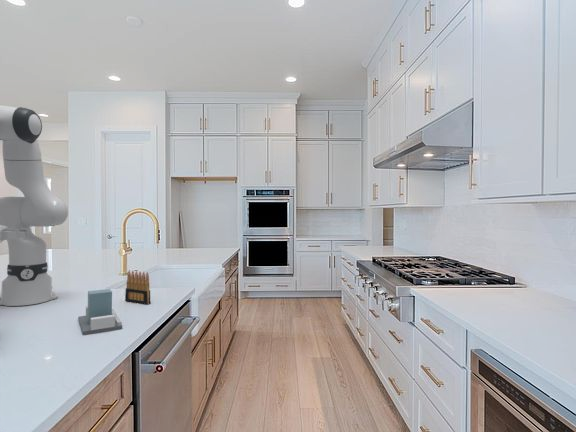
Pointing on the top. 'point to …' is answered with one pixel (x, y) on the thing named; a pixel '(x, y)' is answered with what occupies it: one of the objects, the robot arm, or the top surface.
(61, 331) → the top surface
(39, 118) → the robot arm
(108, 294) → the block
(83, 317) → the mounting board
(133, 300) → the ammunition clip
